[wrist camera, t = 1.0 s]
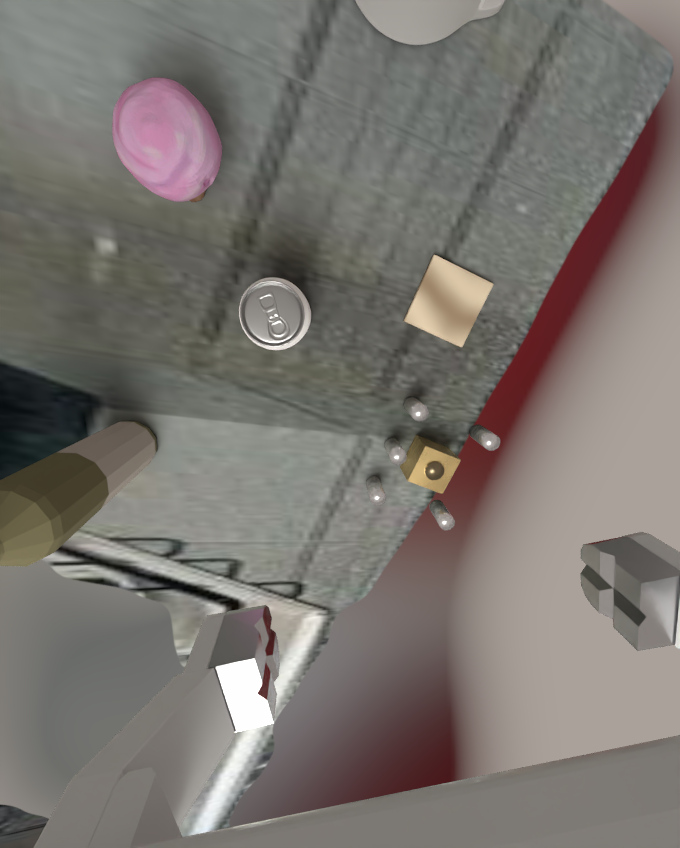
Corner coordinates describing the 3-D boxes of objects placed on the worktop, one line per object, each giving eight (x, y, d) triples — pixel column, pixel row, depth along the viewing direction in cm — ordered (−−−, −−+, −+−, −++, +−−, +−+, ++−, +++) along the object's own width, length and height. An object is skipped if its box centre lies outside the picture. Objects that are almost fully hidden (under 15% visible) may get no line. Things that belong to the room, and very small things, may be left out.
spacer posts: (407, 394, 47) (416, 402, 43) (486, 427, 49) (503, 438, 45) (363, 486, 50) (367, 502, 46) (439, 514, 52) (450, 532, 48)
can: (270, 350, 44) (254, 363, 33) (247, 298, 43) (221, 291, 31) (319, 331, 44) (320, 336, 33) (298, 277, 42) (291, 262, 31)
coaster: (432, 255, 42) (434, 254, 42) (491, 284, 44) (493, 284, 43) (403, 321, 44) (404, 321, 44) (460, 346, 46) (461, 347, 45)
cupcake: (133, 175, 38) (73, 128, 29) (178, 99, 37) (130, 24, 27) (205, 235, 40) (171, 209, 31) (251, 166, 39) (230, 116, 29)
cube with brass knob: (415, 434, 49) (426, 446, 44) (448, 447, 50) (461, 460, 45) (399, 466, 50) (408, 481, 45) (431, 478, 51) (443, 495, 46)
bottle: (101, 458, 47) (-238, 683, 18) (110, 408, 45) (-250, 568, 16) (157, 473, 48) (-81, 708, 19) (167, 424, 46) (-77, 602, 17)
